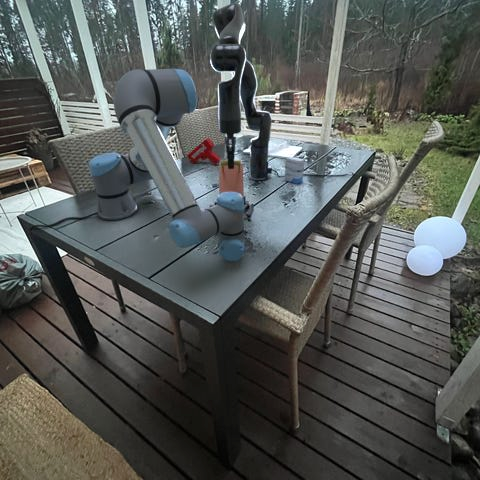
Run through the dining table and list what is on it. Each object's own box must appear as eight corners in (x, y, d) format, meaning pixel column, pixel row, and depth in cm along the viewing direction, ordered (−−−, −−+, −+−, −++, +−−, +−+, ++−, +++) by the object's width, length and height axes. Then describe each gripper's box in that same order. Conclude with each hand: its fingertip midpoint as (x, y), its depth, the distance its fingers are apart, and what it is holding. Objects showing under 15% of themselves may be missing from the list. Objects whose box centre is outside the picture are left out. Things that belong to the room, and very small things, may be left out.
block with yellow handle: (219, 164, 108) (217, 153, 100) (242, 164, 108) (243, 153, 100) (219, 196, 105) (218, 187, 97) (243, 195, 105) (244, 187, 97)
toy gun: (223, 158, 167) (209, 137, 163) (221, 160, 164) (206, 138, 160) (204, 173, 177) (189, 154, 173) (201, 175, 174) (186, 155, 170)
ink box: (302, 181, 142) (305, 159, 136) (297, 184, 139) (300, 161, 133) (289, 177, 147) (291, 156, 141) (284, 180, 144) (285, 158, 138)
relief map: (291, 159, 177) (291, 151, 174) (243, 153, 190) (243, 145, 187) (302, 149, 197) (303, 142, 194) (258, 144, 211) (258, 137, 208)
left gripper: (199, 236, 93) (205, 208, 112) (264, 235, 93) (258, 207, 112) (197, 217, 89) (203, 191, 108) (265, 216, 89) (259, 190, 108)
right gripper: (219, 113, 97) (221, 161, 106) (217, 121, 85) (220, 174, 95) (240, 113, 97) (240, 161, 106) (241, 121, 85) (241, 174, 95)
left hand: (231, 199), depth 110 cm, fingers closed on chest, 9 cm apart
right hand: (231, 167), depth 101 cm, fingers closed on block with yellow handle, 2 cm apart
